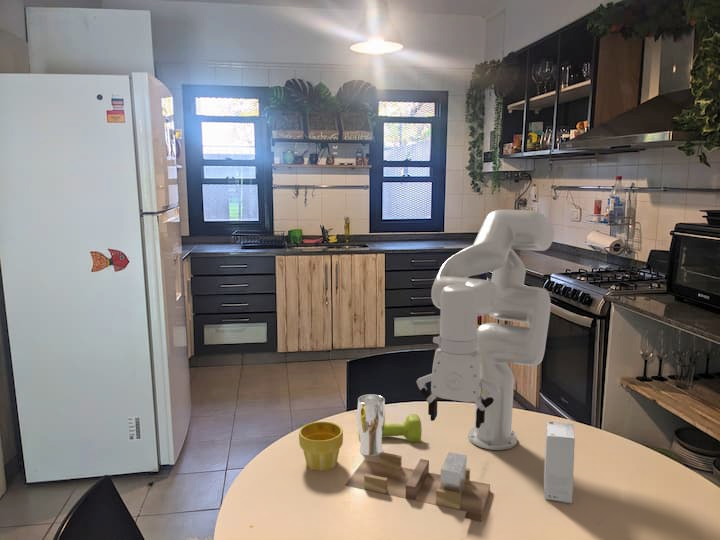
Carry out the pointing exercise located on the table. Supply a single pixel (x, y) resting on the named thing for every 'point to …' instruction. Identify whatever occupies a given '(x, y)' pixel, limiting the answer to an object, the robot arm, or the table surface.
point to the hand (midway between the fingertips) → (456, 421)
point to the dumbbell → (405, 429)
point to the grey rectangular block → (454, 473)
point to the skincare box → (559, 462)
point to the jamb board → (427, 490)
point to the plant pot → (321, 444)
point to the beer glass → (371, 423)
